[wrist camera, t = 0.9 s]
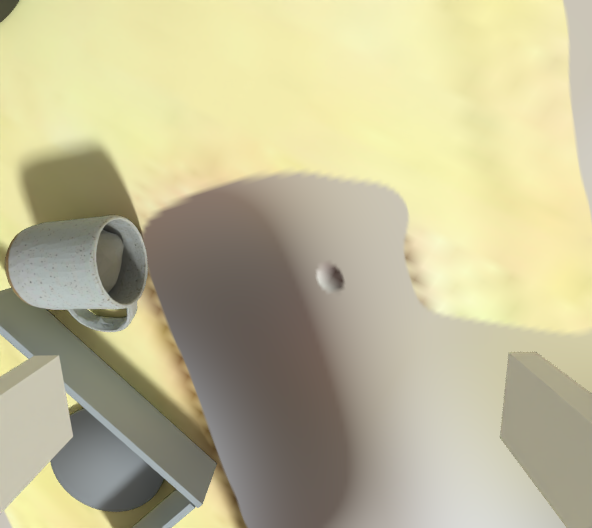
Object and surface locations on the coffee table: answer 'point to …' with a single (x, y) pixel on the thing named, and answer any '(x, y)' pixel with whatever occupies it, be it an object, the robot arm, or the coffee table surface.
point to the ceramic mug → (80, 268)
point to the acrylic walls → (114, 407)
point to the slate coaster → (103, 468)
